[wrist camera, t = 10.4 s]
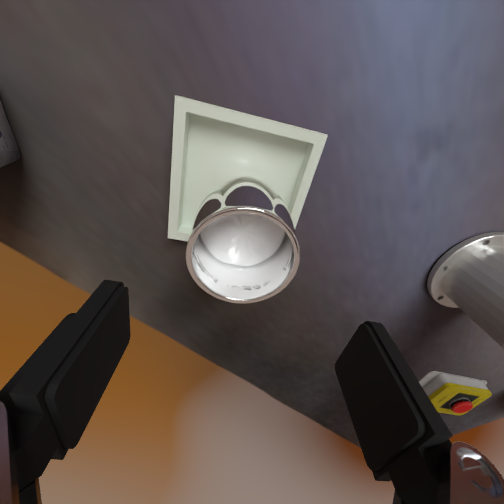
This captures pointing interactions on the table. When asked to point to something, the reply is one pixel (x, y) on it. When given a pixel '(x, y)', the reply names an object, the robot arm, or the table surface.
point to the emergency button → (454, 392)
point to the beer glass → (242, 237)
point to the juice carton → (7, 141)
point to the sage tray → (235, 157)
